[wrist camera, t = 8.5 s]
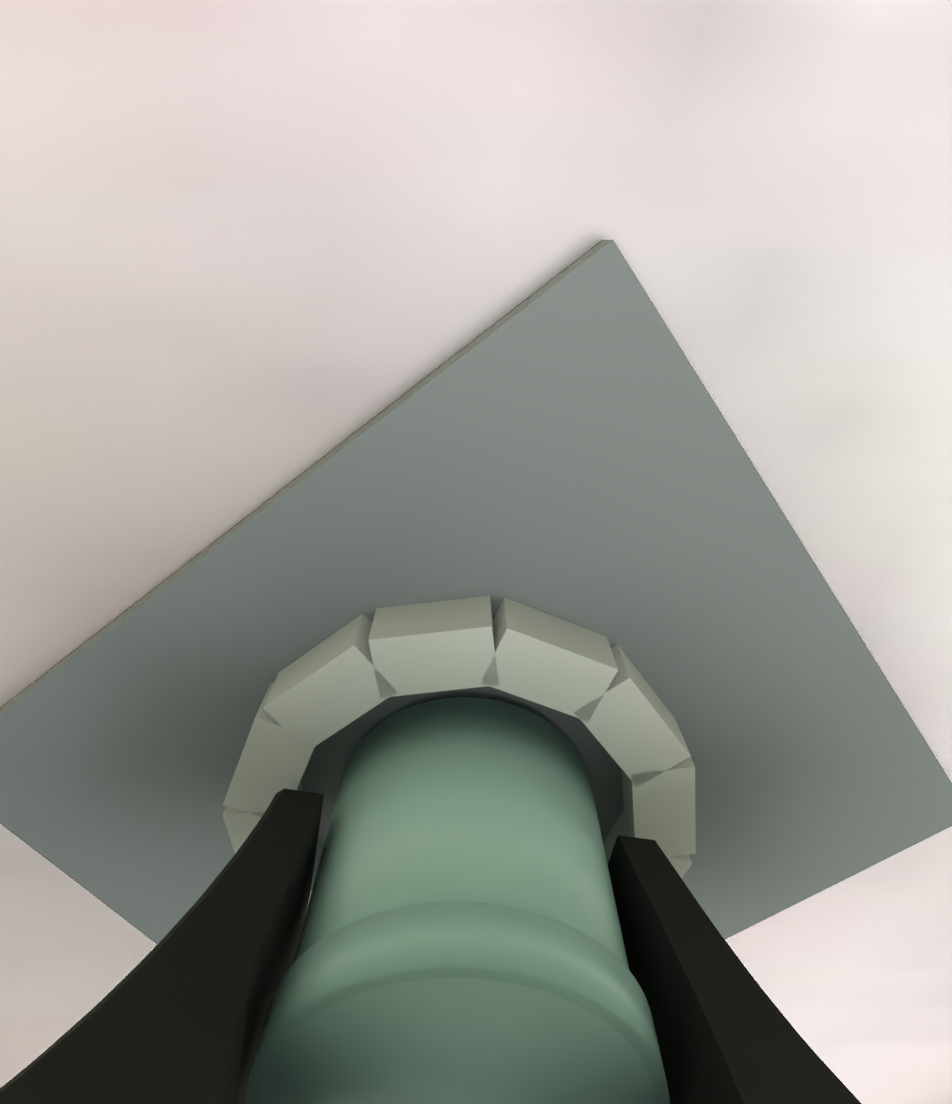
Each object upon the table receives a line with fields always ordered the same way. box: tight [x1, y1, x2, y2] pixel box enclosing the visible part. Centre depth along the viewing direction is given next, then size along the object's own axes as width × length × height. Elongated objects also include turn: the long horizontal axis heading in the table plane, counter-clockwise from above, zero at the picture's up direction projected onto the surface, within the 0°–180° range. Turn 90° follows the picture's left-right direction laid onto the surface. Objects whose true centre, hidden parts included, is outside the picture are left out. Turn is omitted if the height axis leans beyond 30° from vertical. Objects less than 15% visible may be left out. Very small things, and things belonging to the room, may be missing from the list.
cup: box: [246, 697, 670, 1104], centre depth 11 cm, size 5×5×5 cm
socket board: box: [0, 240, 952, 944], centre depth 13 cm, size 14×12×2 cm
